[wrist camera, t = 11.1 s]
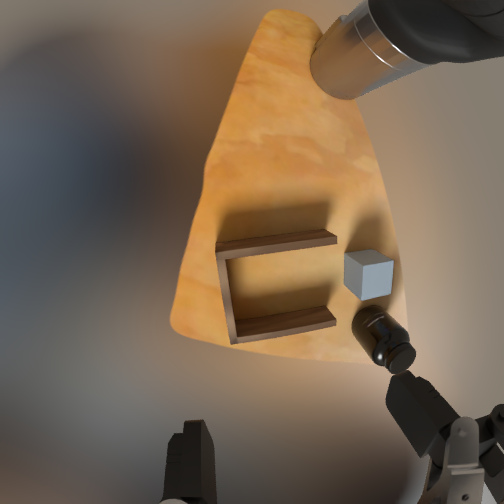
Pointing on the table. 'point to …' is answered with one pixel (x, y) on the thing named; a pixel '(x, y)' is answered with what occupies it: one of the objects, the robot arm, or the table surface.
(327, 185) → the table surface
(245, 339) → the brown three-sided frame
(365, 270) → the slate block
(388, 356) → the supplement bottle
